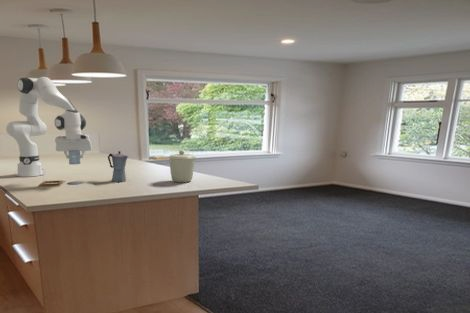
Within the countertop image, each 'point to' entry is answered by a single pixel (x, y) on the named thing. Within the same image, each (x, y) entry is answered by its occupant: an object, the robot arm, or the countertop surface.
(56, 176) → the countertop surface
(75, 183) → the mat
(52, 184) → the holder
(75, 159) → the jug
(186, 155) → the canister
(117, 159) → the moka pot
